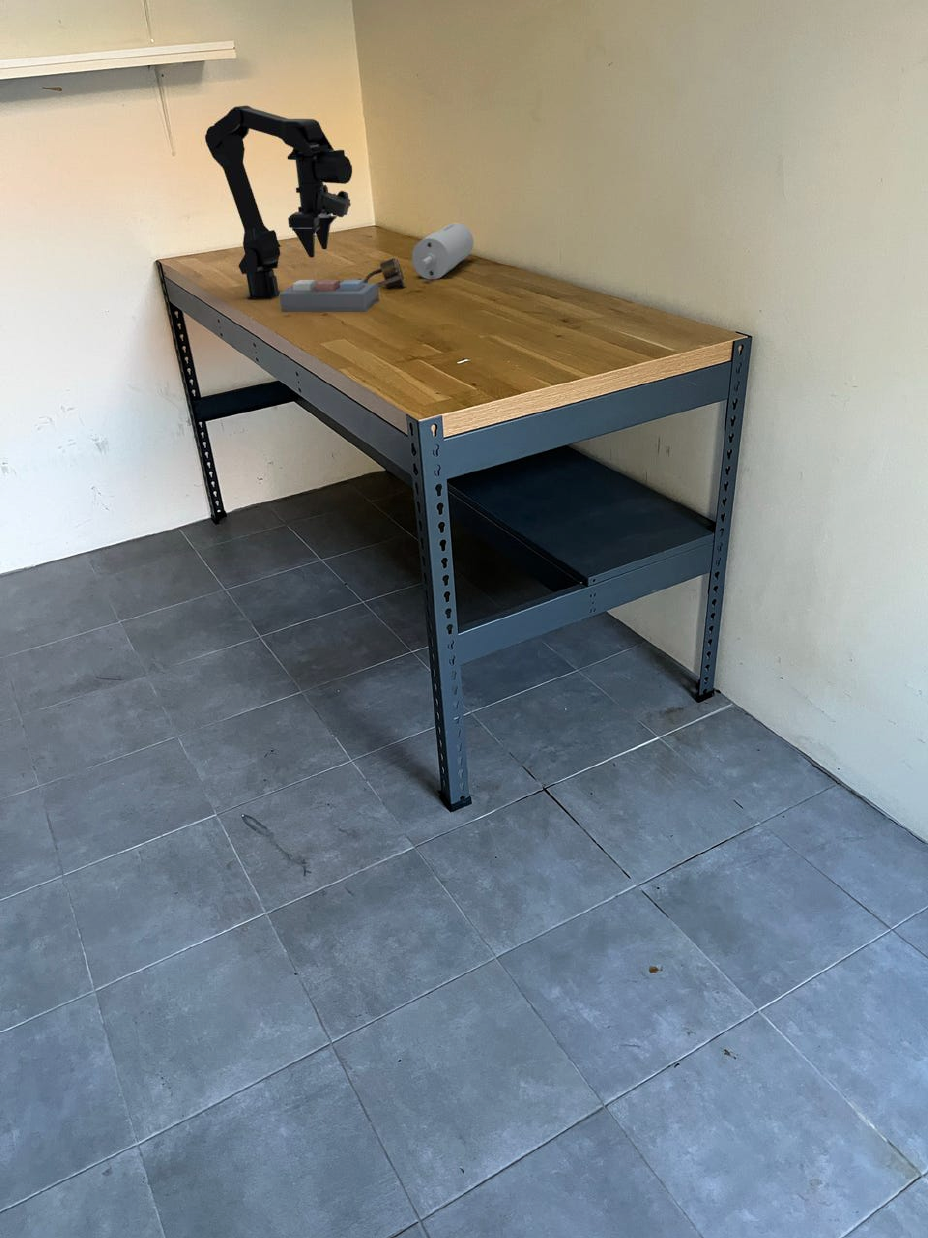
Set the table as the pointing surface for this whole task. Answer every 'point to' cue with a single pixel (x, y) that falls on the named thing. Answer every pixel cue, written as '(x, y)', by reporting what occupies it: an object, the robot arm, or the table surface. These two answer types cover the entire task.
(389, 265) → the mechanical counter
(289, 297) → the key panel
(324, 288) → the red key
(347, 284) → the blue key
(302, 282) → the white key
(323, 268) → the table surface
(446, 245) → the motor
